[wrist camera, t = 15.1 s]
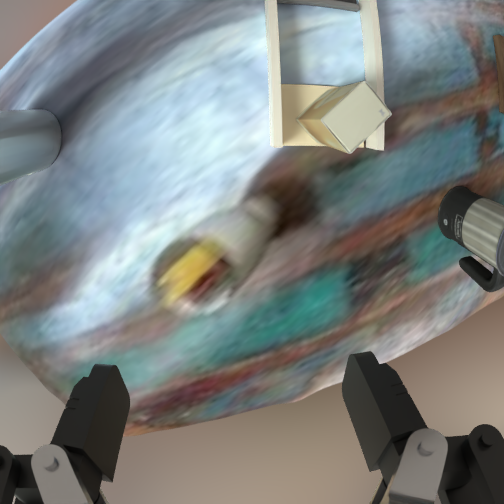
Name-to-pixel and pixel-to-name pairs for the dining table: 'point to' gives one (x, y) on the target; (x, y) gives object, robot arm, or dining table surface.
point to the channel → (370, 61)
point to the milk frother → (475, 233)
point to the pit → (326, 3)
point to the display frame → (500, 68)
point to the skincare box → (344, 116)
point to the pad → (298, 112)
